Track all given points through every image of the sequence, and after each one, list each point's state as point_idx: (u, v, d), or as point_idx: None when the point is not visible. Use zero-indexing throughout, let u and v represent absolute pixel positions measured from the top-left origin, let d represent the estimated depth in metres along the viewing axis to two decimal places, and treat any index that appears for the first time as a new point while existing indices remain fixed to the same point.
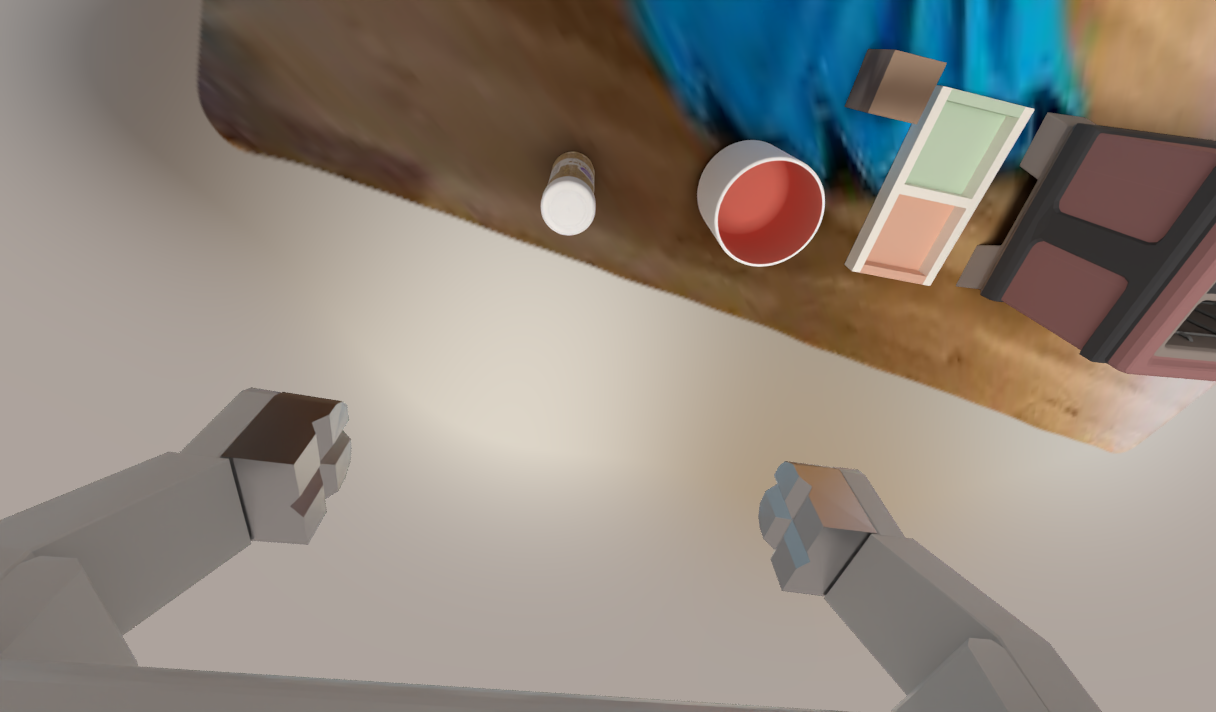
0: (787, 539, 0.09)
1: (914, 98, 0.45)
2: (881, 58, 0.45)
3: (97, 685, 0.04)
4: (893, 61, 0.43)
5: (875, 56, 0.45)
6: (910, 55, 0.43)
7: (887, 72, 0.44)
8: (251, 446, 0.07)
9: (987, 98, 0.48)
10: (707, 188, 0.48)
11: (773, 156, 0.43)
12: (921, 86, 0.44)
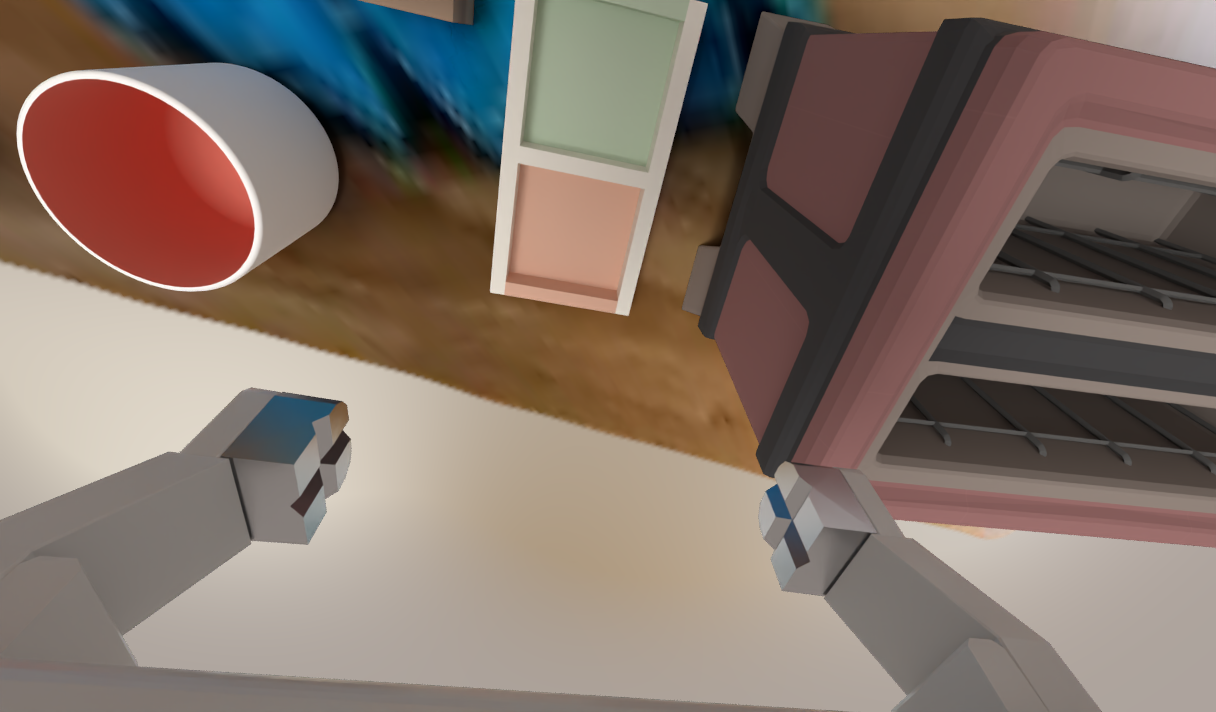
0: (787, 539, 0.09)
1: None
2: None
3: (97, 685, 0.04)
4: None
5: None
6: None
7: None
8: (252, 446, 0.07)
9: None
10: None
11: (80, 71, 0.21)
12: None
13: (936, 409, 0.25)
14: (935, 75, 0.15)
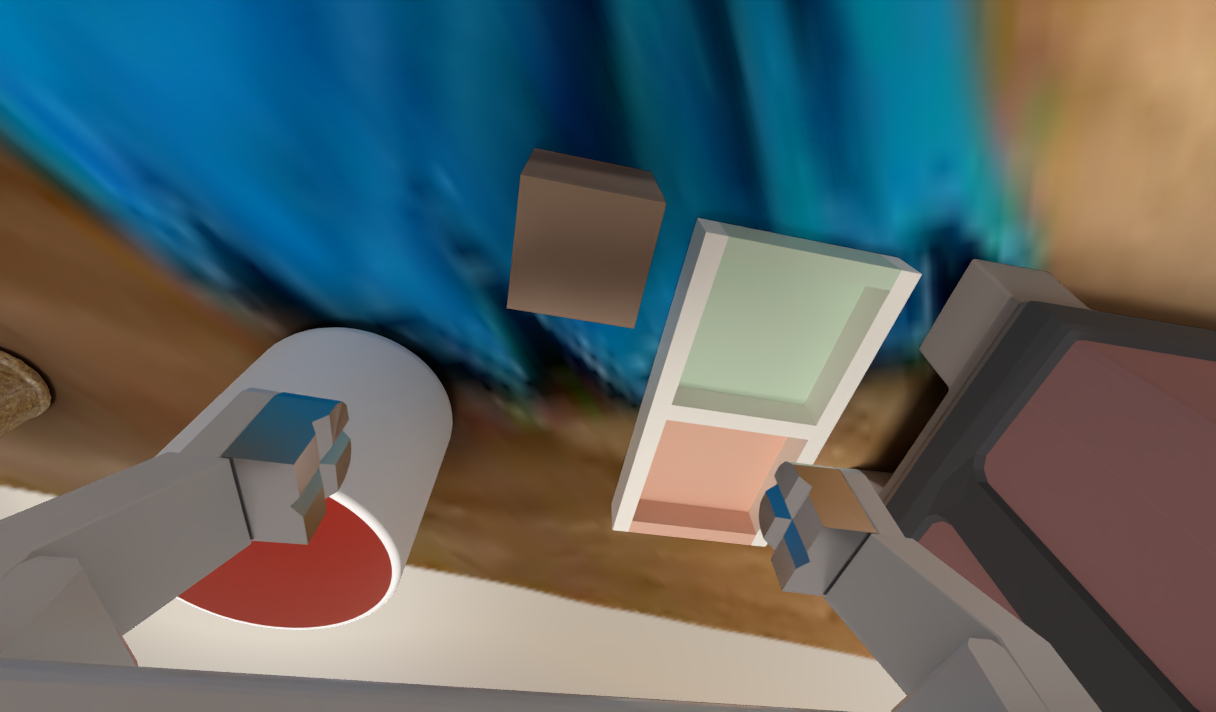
0: (787, 539, 0.09)
1: (610, 278, 0.18)
2: None
3: (97, 685, 0.04)
4: (528, 201, 0.17)
5: None
6: (565, 187, 0.17)
7: (520, 225, 0.17)
8: (251, 446, 0.07)
9: (812, 255, 0.21)
10: None
11: None
12: (617, 253, 0.18)
13: None
14: None
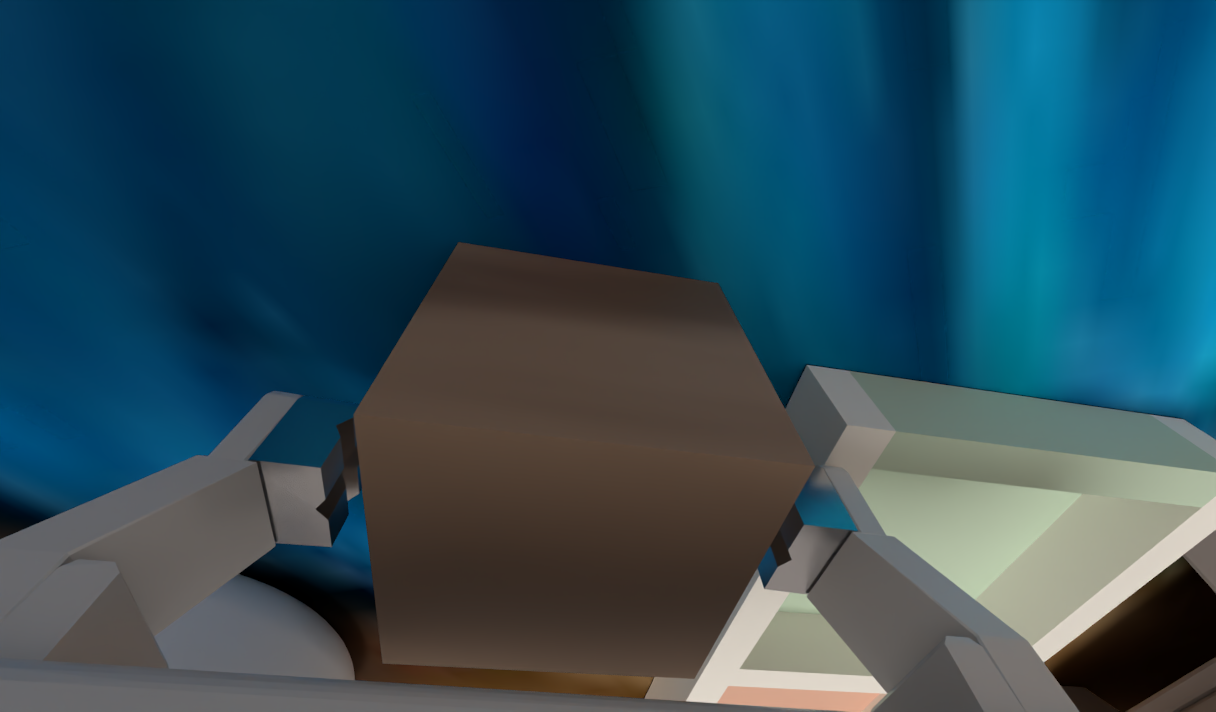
0: None
1: (641, 610, 0.07)
2: None
3: (97, 685, 0.04)
4: (392, 475, 0.05)
5: None
6: (506, 440, 0.05)
7: (382, 526, 0.06)
8: (278, 449, 0.07)
9: (1067, 458, 0.10)
10: None
11: None
12: (663, 568, 0.07)
13: None
14: None
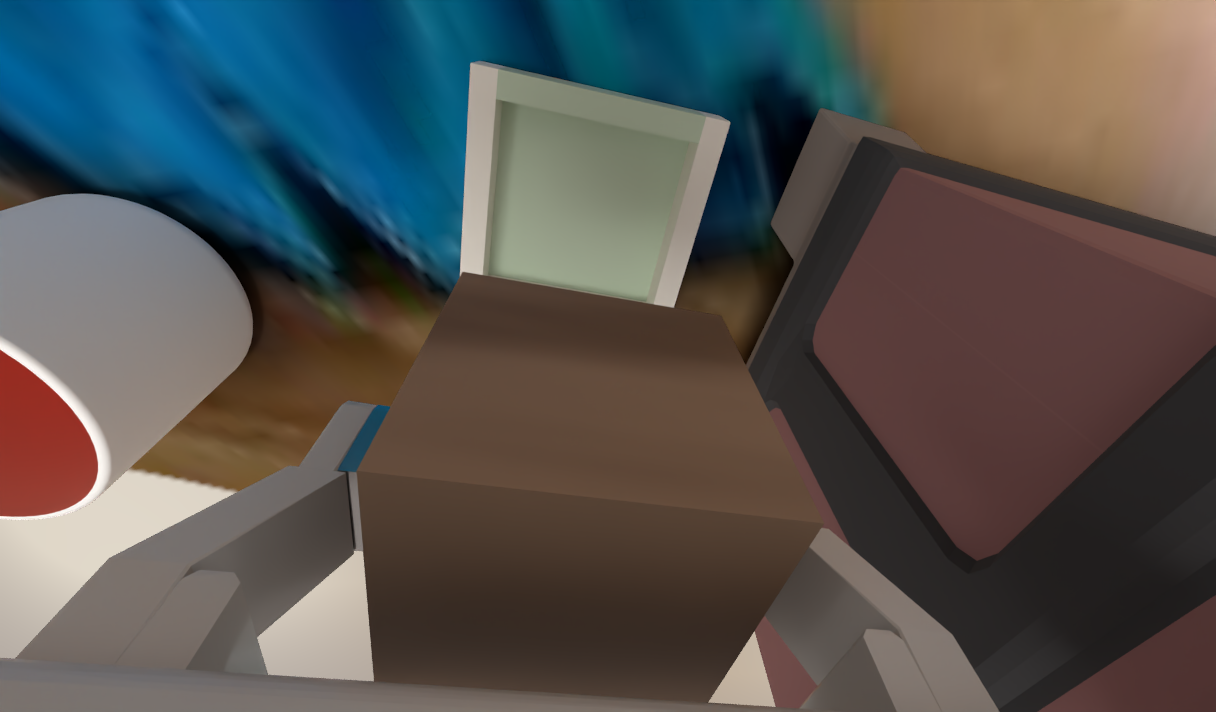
0: None
1: (643, 657, 0.07)
2: None
3: (96, 685, 0.04)
4: (393, 529, 0.05)
5: None
6: (512, 496, 0.05)
7: (381, 577, 0.06)
8: None
9: (599, 95, 0.19)
10: None
11: None
12: (667, 618, 0.06)
13: None
14: None
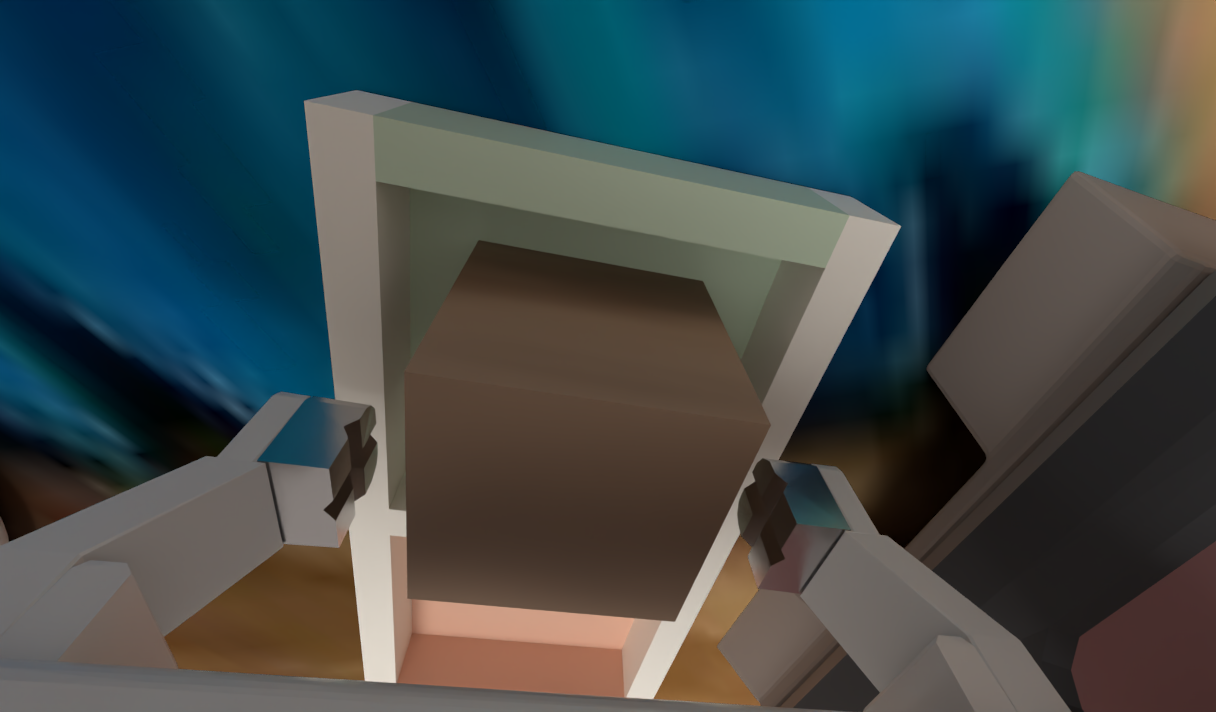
0: (763, 536, 0.09)
1: (629, 552, 0.08)
2: None
3: (97, 685, 0.04)
4: (429, 425, 0.07)
5: None
6: (523, 396, 0.07)
7: (417, 469, 0.07)
8: (286, 450, 0.07)
9: (614, 172, 0.08)
10: None
11: None
12: (647, 513, 0.08)
13: None
14: None
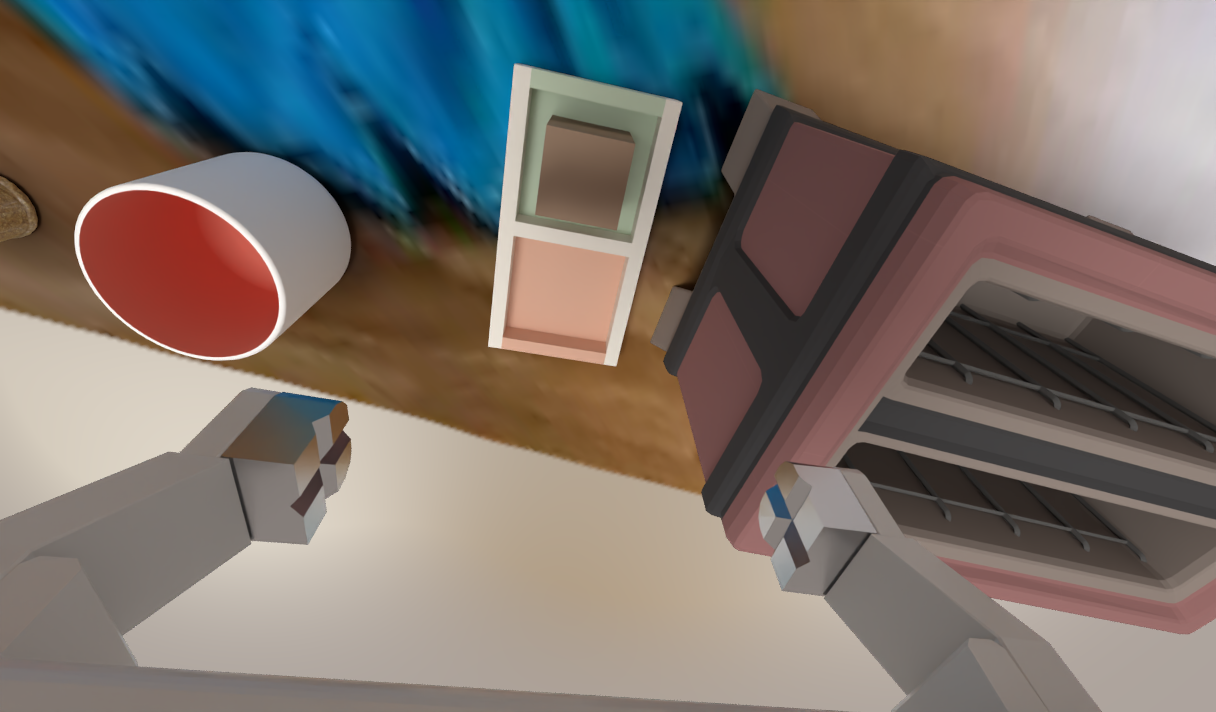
0: (787, 539, 0.09)
1: (601, 194, 0.29)
2: None
3: (97, 685, 0.04)
4: (550, 142, 0.28)
5: None
6: (573, 133, 0.27)
7: (545, 158, 0.28)
8: (251, 446, 0.07)
9: (596, 85, 0.29)
10: None
11: (132, 182, 0.24)
12: (605, 177, 0.29)
13: (863, 468, 0.28)
14: (888, 195, 0.17)
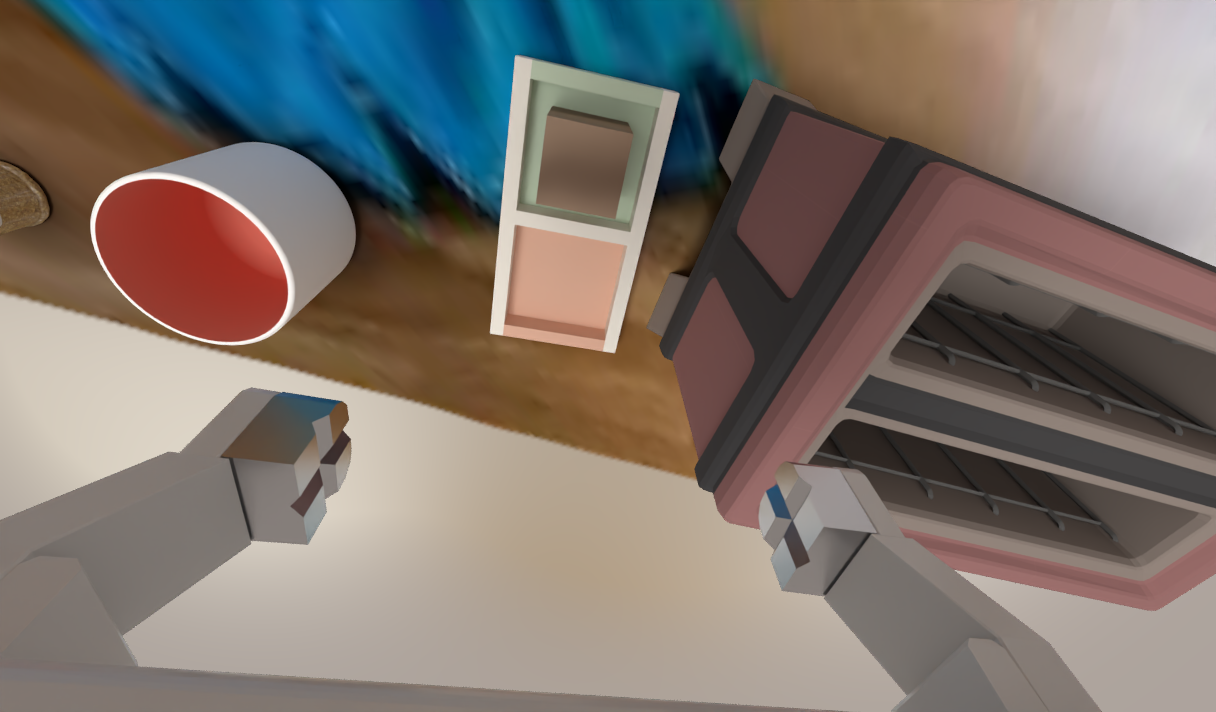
0: (787, 539, 0.09)
1: (600, 183, 0.30)
2: None
3: (97, 685, 0.04)
4: (550, 132, 0.28)
5: None
6: (573, 123, 0.28)
7: (546, 148, 0.29)
8: (252, 446, 0.07)
9: (595, 76, 0.30)
10: None
11: (146, 171, 0.25)
12: (604, 167, 0.29)
13: (851, 449, 0.29)
14: (877, 180, 0.18)
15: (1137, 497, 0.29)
